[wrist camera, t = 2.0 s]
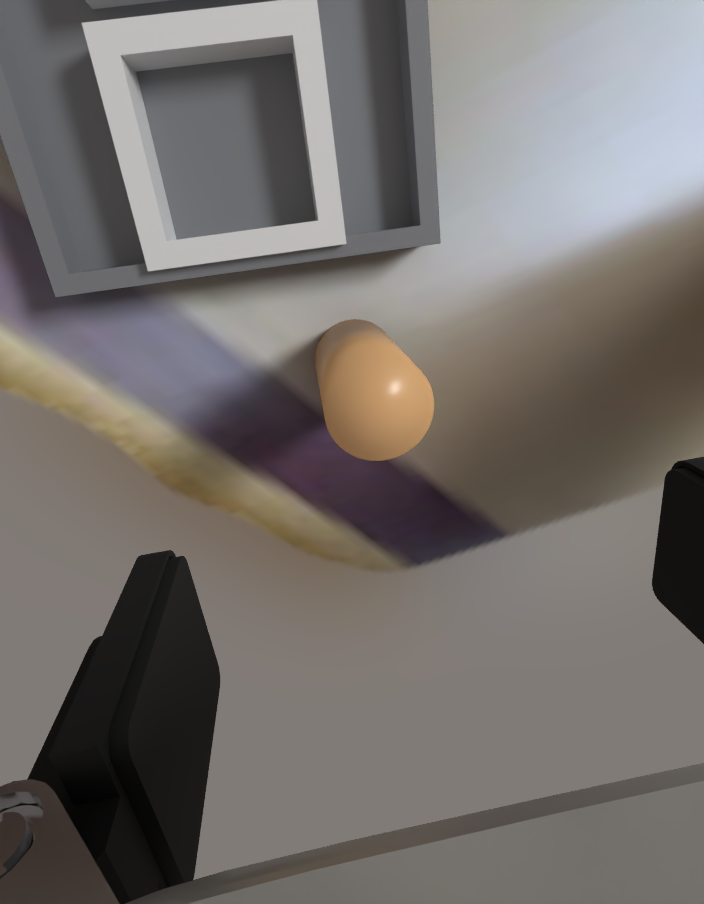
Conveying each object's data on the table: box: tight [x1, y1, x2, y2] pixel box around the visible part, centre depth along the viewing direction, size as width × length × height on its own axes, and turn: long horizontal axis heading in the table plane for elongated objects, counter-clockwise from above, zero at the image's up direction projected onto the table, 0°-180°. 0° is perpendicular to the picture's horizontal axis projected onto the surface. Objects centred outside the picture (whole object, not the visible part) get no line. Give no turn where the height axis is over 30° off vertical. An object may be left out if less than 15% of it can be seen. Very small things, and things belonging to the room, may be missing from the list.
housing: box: [0, 0, 440, 297], centre depth 19 cm, size 16×18×3 cm
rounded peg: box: [315, 319, 434, 461], centre depth 22 cm, size 4×4×8 cm
